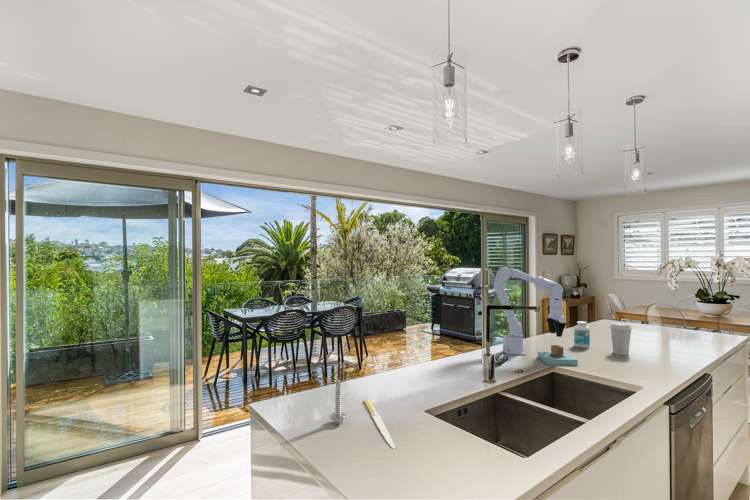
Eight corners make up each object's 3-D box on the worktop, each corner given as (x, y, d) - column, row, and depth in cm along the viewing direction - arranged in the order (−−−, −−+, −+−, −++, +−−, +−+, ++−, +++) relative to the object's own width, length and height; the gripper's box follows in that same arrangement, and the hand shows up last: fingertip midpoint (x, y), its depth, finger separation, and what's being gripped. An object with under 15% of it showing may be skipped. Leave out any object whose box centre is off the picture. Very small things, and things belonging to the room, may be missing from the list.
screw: (326, 423, 113) (338, 417, 117) (338, 428, 110) (349, 422, 114) (326, 379, 113) (338, 375, 117) (338, 383, 110) (349, 379, 114)
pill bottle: (571, 345, 207) (571, 321, 207) (580, 344, 210) (580, 320, 211) (583, 349, 201) (583, 323, 201) (592, 347, 204) (592, 322, 204)
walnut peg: (554, 362, 176) (554, 347, 177) (551, 359, 180) (551, 345, 181) (563, 362, 176) (563, 347, 176) (559, 359, 180) (559, 345, 180)
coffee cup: (613, 355, 189) (613, 325, 189) (607, 350, 198) (607, 321, 198) (635, 356, 186) (635, 326, 186) (628, 351, 195) (628, 322, 195)
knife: (405, 451, 99) (388, 451, 98) (375, 402, 131) (362, 401, 130) (406, 446, 99) (389, 445, 98) (376, 398, 131) (363, 397, 130)
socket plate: (548, 364, 172) (548, 359, 172) (537, 356, 185) (537, 351, 185) (577, 365, 172) (577, 359, 172) (564, 357, 185) (564, 352, 185)
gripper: (570, 309, 180) (570, 338, 179) (558, 305, 194) (558, 331, 194) (555, 309, 180) (555, 338, 180) (544, 305, 195) (544, 331, 194)
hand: (556, 334), depth 187 cm, fingers open, 7 cm apart
